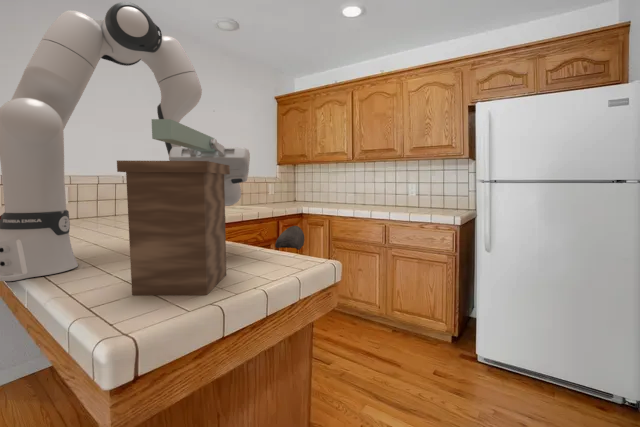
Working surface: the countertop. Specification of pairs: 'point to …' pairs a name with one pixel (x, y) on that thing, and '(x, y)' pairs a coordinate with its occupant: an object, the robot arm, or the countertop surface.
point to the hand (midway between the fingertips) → (202, 141)
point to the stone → (291, 238)
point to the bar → (180, 135)
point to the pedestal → (176, 226)
